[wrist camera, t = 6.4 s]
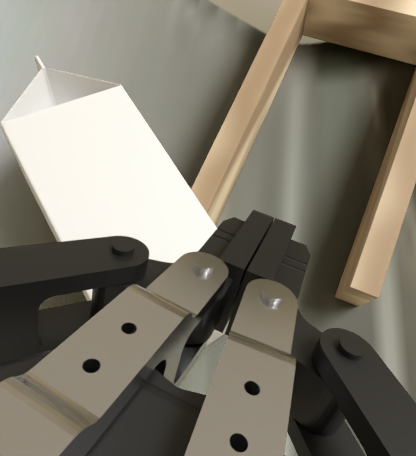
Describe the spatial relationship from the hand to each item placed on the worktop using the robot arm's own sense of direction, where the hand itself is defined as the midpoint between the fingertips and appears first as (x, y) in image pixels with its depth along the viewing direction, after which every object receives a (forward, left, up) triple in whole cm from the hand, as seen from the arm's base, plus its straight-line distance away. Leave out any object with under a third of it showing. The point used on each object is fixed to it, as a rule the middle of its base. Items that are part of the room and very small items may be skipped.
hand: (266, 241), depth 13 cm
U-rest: (0, +12, -13) cm, 18 cm away
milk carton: (-2, -5, -8) cm, 10 cm away
